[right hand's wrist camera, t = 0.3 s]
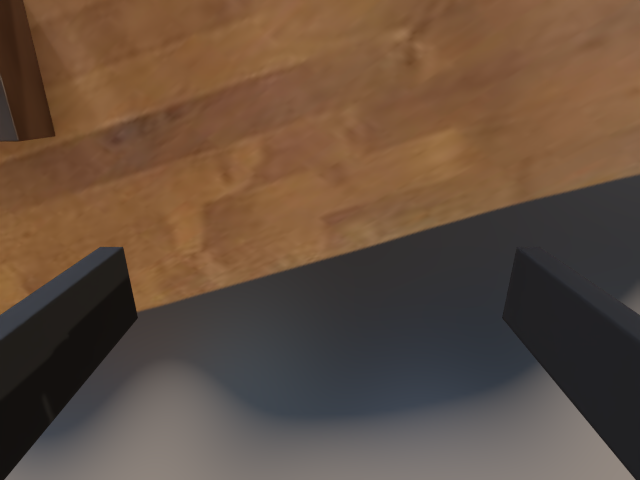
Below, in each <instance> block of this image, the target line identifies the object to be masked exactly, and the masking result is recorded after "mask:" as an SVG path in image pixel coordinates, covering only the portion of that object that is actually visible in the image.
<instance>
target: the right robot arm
mask: <svg viewBox="0 0 640 480" xmlns="http://www.w3.org/2000/svg"><path fill="white" fill-rule="evenodd" d="M137 318H138V317H137V312H136V307H135V302H134V298H133V293H132V288H131V283H130V278H129V273H128V269H127V264H126V259H125V254H124V249H123V247H100V248H98V249H97V250H95V251H94V252H92V253H91V254H89V255H88V256H86V257H85V258H83V259H82V260H80V261H79V262H77V263H76V264H75V265H73V266H72V267H70V268H69V269H67V270H66V271H64V272H63V273H61V274H60V275H58V276H57V277H55V278H54V279H53V280H51V281H50V282H48V283H47V284H45V285H44V286H42V287H41V288H39V289H38V290H36V291H35V292H33V293H32V294H30V295H29V296H28V297H26V298H25V299H23V300H22V301H20V302H19V303H17V304H16V305H14V306H13V307H11V308H10V309H8V310H7V311H6V312H4V313H3V314H1V315H0V480H4V479H5V478H6V477H7V476H8V474H9V473H10V472H11V471H12V470H13V468H14V467H15V466H16V465H17V464H18V462H19V461H20V460H21V459H22V458H23V456H24V455H25V454H26V453H27V451H28V450H29V449H30V448H31V447H32V445H33V444H34V443H35V442H36V441H37V439H38V438H39V437H40V436H41V435H42V433H43V432H44V431H45V430H46V428H47V427H48V426H49V425H50V424H51V422H52V421H53V420H54V419H55V418H56V416H57V415H58V414H59V413H60V412H61V410H62V409H63V408H64V407H65V405H66V404H67V403H68V402H69V401H70V399H71V398H72V397H73V396H74V395H75V393H76V392H77V391H78V390H79V388H80V387H81V386H82V385H83V384H84V382H85V381H86V380H87V379H88V378H89V376H90V375H91V374H92V373H93V372H94V370H95V369H96V368H97V367H98V366H99V364H100V363H101V362H102V361H103V359H104V358H105V357H106V356H107V355H108V353H109V352H110V351H111V350H112V349H113V347H114V346H115V345H116V344H117V343H118V341H119V340H120V339H121V338H122V336H123V335H124V334H125V333H126V332H127V330H128V329H129V328H130V327H131V326H132V324H133V323H134V322H135V321H136V320H137ZM502 318H503V320H504V321H505V322H506V323H507V324H508V326H509V327H510V328H511V329H512V330H513V332H514V333H515V334H516V335H517V336H518V338H519V339H520V340H521V341H522V343H523V344H524V345H525V346H526V347H527V349H528V350H529V351H530V352H531V353H532V355H533V356H534V357H535V358H536V359H537V361H538V362H539V363H540V364H541V366H542V367H543V368H544V369H545V370H546V372H547V373H548V374H549V375H550V376H551V378H552V379H553V380H554V381H555V382H556V384H557V385H558V386H559V387H560V389H561V390H562V391H563V392H564V393H565V395H566V396H567V397H568V398H569V399H570V401H571V402H572V403H573V404H574V405H575V407H576V408H577V409H578V410H579V412H580V413H581V414H582V415H583V416H584V418H585V419H586V420H587V421H588V422H589V424H590V425H591V426H592V427H593V428H594V430H595V431H596V432H597V433H598V434H599V436H600V437H601V438H602V439H603V441H604V442H605V443H606V444H607V445H608V447H609V448H610V449H611V450H612V451H613V453H614V454H615V455H616V456H617V458H618V459H619V460H620V461H621V462H622V464H623V465H624V466H625V467H626V468H627V470H628V471H629V472H630V473H631V474H632V476H633V477H634V478H635V479H636V480H640V315H639V314H637V313H636V312H634V311H633V310H632V309H630V308H628V307H627V306H626V305H624V304H623V303H621V302H620V301H618V300H617V299H615V298H614V297H612V296H611V295H609V294H608V293H607V292H605V291H604V290H602V289H601V288H599V287H598V286H596V285H595V284H593V283H592V282H590V281H589V280H587V279H586V278H585V277H583V276H582V275H580V274H579V273H577V272H576V271H574V270H573V269H571V268H570V267H568V266H567V265H565V264H564V263H562V262H561V261H560V260H558V259H557V258H555V257H554V256H552V255H551V254H549V253H548V252H546V251H545V250H543V249H542V248H540V247H517V249H516V254H515V259H514V264H513V269H512V273H511V278H510V283H509V288H508V293H507V298H506V302H505V307H504V312H503V317H502Z"/></svg>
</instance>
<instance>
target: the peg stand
mask: <svg viewBox="0 0 640 480" xmlns="http://www.w3.org/2000/svg"><path fill="white" fill-rule="evenodd" d="M53 136H55V132H54V128H53V124H52V120H51V116H50V112H49V107H48V103H47V99H46V95H45V91H44V87H43V83H42V79H41V74H40V70H39V66H38V62H37V58H36V54H35V50H34V45H33V41H32V37H31V33H30V29H29V25H28V21H27V16H26V12H25V8H24V4H23V0H0V141H24V140H31V139H39V138H46V137H53Z"/></svg>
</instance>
